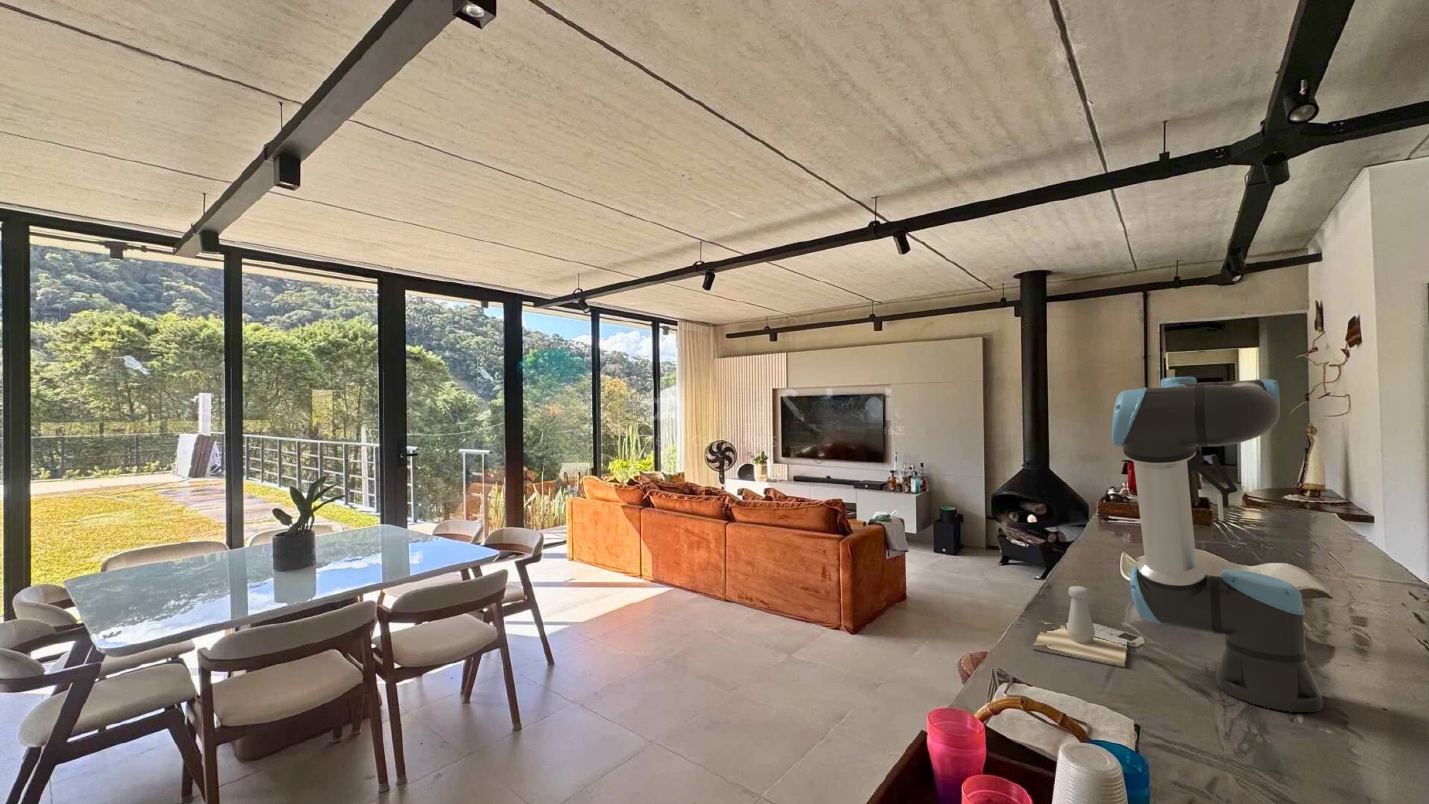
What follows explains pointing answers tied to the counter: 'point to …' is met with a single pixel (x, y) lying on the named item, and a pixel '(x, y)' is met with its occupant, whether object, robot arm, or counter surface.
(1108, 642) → the open book
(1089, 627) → the salt shaker
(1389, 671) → the counter surface
